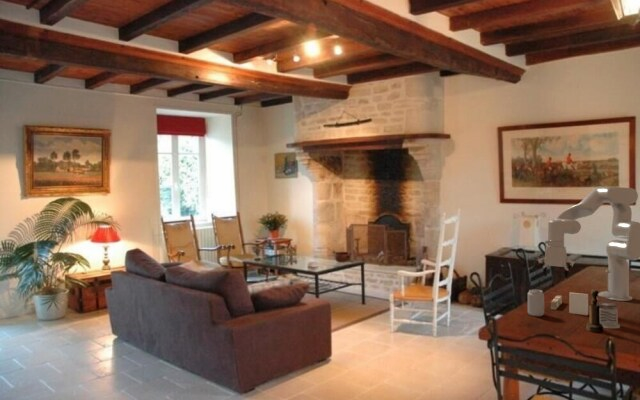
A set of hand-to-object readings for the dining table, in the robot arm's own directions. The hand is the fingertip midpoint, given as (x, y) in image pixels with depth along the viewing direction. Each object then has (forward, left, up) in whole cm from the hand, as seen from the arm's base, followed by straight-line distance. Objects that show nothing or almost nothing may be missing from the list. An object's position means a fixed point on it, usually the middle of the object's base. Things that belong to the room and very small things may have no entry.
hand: (555, 276), depth 262 cm
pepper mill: (+36, +22, -15) cm, 45 cm away
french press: (+25, +25, -15) cm, 38 cm away
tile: (+11, +12, -15) cm, 22 cm away
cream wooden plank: (0, 0, -16) cm, 16 cm away
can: (+23, -5, -15) cm, 28 cm away
